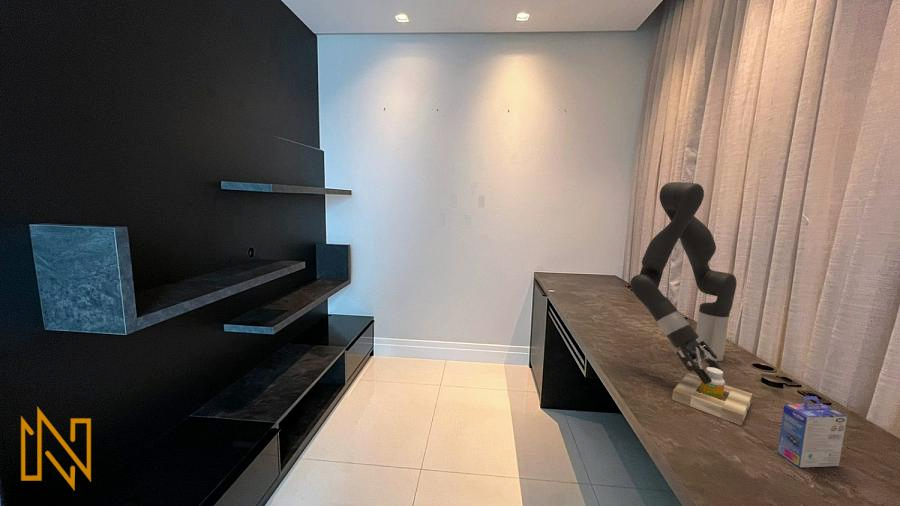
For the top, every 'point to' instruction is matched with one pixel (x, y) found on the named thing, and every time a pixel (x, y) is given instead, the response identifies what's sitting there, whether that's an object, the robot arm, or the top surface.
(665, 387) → the top surface
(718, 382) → the supplement bottle
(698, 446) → the top surface
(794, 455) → the ink cartridge box
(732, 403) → the light wooden square frame
